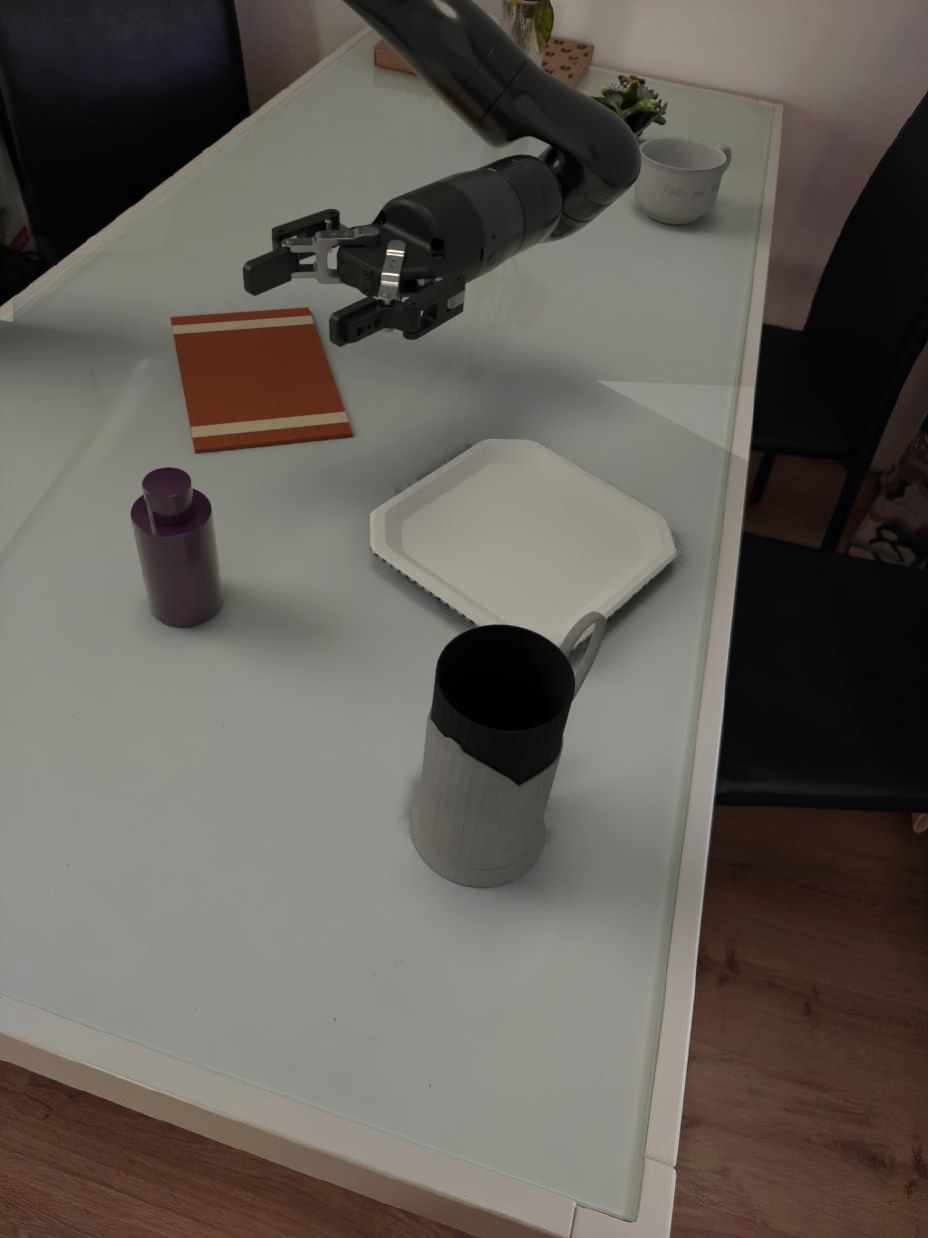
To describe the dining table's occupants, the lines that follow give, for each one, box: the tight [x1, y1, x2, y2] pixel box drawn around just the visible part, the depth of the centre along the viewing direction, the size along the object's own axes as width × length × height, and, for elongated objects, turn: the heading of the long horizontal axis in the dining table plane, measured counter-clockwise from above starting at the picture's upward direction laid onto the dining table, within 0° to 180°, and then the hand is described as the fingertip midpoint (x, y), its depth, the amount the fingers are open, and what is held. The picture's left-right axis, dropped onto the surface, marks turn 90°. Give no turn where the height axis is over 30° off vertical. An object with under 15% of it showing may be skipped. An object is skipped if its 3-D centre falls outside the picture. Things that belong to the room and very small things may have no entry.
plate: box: [369, 438, 678, 651], centre depth 81 cm, size 21×21×2 cm
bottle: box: [129, 466, 224, 628], centre depth 70 cm, size 5×5×12 cm
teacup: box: [634, 136, 733, 225], centre depth 125 cm, size 14×11×8 cm
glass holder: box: [409, 611, 608, 888], centre depth 60 cm, size 9×14×15 cm, turn 138°
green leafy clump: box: [588, 74, 668, 140], centre depth 138 cm, size 11×11×12 cm
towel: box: [170, 306, 354, 454], centre depth 95 cm, size 22×14×1 cm, turn 17°
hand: (288, 305), depth 66 cm, fingers open, 8 cm apart
